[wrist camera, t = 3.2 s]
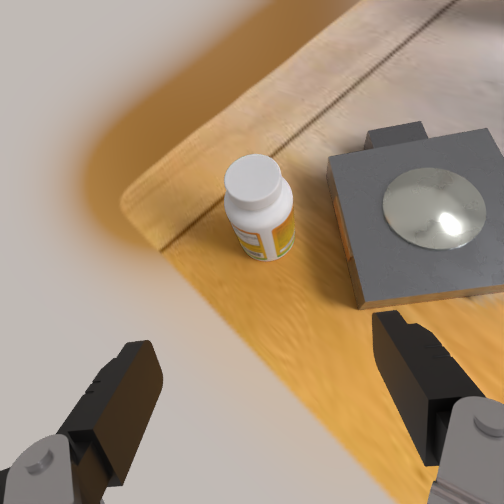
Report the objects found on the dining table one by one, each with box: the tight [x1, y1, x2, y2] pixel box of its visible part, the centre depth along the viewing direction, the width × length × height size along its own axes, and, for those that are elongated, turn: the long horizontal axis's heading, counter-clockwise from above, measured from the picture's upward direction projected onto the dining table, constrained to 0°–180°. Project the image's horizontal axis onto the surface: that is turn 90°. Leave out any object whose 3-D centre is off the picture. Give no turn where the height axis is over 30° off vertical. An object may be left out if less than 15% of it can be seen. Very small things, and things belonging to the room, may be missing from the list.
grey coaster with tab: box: [326, 121, 504, 310], centre depth 26 cm, size 17×14×3 cm
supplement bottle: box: [224, 154, 295, 261], centre depth 25 cm, size 5×5×10 cm
